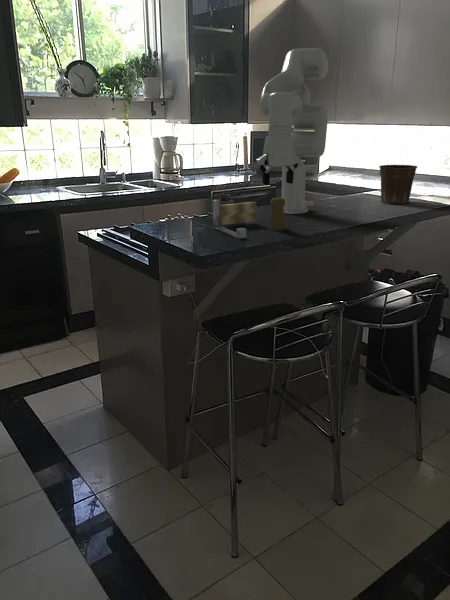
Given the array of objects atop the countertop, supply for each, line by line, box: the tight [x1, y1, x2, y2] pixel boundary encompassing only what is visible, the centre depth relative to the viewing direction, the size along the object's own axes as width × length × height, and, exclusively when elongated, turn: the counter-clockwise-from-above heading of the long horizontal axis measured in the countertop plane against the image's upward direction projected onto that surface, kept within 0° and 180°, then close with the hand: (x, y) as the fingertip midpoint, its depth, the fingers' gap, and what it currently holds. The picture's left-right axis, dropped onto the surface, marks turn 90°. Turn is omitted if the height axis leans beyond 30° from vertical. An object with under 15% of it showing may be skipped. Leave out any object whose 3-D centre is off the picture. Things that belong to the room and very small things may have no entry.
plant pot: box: [378, 164, 418, 205], centre depth 231 cm, size 16×16×16 cm
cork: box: [268, 196, 286, 232], centre depth 182 cm, size 6×6×11 cm
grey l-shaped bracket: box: [212, 199, 247, 239], centre depth 176 cm, size 20×2×10 cm, turn 29°
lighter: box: [211, 192, 234, 220], centre depth 197 cm, size 8×3×10 cm, turn 92°
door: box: [220, 201, 257, 226], centre depth 188 cm, size 14×3×7 cm, turn 117°
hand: (277, 183), depth 178 cm, fingers open, 9 cm apart
